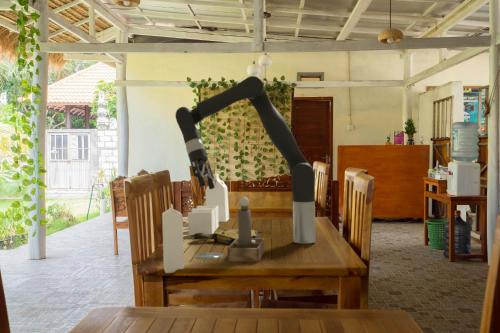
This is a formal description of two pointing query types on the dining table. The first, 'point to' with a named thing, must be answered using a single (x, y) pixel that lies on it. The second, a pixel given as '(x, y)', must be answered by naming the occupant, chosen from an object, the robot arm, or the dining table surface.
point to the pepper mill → (244, 224)
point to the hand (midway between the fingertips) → (207, 187)
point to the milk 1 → (172, 240)
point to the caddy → (246, 251)
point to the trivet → (209, 255)
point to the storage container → (203, 220)
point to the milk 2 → (218, 198)
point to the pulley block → (223, 235)
